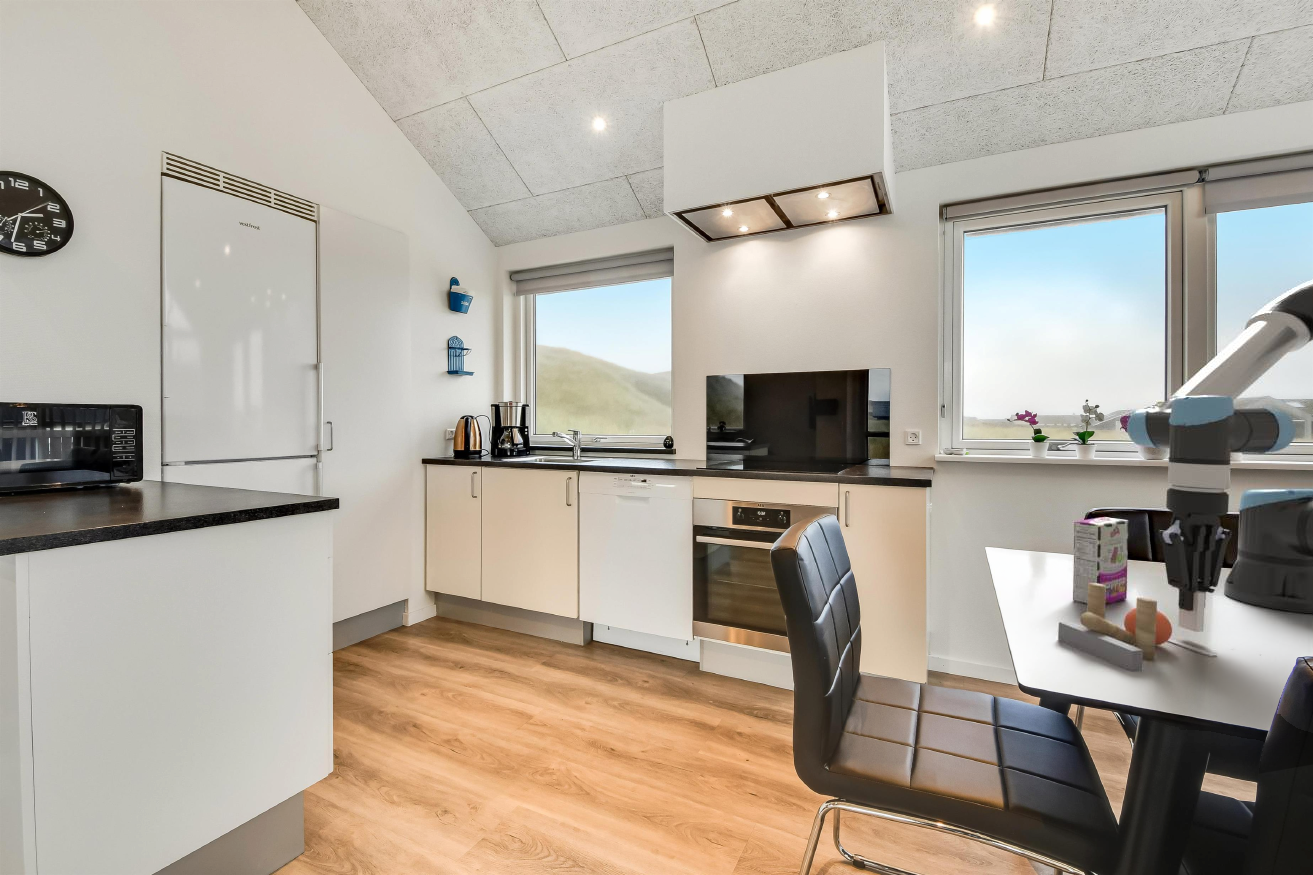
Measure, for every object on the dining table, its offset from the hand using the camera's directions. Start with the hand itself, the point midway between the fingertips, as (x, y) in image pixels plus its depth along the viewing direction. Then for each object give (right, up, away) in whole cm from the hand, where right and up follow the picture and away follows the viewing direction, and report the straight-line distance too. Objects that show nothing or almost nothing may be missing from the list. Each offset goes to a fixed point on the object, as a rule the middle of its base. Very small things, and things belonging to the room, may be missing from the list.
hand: (1190, 628), depth 96 cm
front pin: (-13, -1, -3) cm, 13 cm away
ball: (-9, +1, -2) cm, 9 cm away
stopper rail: (-20, -2, -6) cm, 21 cm away
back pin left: (-14, -2, -7) cm, 16 cm away
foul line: (-4, -2, -1) cm, 4 cm away
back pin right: (-16, -2, +1) cm, 16 cm away
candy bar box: (+1, -1, +21) cm, 21 cm away
